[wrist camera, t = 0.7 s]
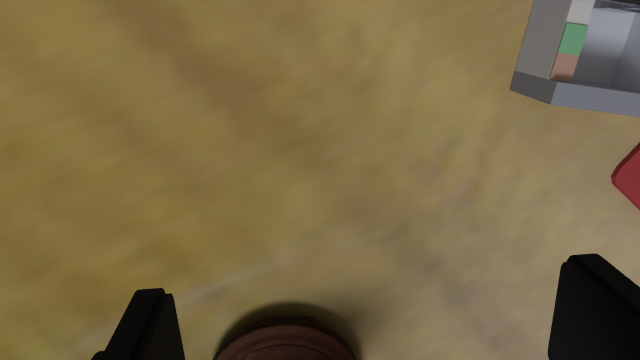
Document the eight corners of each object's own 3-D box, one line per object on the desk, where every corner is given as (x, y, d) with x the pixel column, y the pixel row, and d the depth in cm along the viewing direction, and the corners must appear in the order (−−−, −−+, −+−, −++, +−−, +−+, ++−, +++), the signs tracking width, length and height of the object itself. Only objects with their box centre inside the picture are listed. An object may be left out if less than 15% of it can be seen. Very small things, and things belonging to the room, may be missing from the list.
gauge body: (549, -55, 35) (604, -69, 29) (664, -35, 36) (739, -43, 30) (509, 89, 39) (550, 104, 33) (614, 104, 40) (672, 121, 34)
